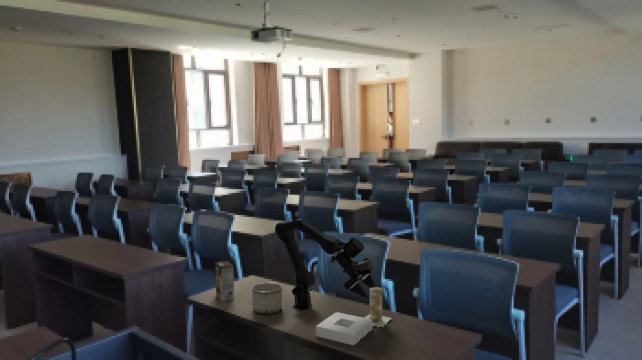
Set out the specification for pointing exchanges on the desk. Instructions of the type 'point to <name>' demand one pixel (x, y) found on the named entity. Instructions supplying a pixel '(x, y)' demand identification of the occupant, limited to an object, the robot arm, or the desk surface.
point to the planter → (267, 297)
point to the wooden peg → (376, 304)
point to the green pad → (380, 324)
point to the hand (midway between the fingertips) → (372, 294)
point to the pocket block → (344, 328)
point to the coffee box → (224, 280)
